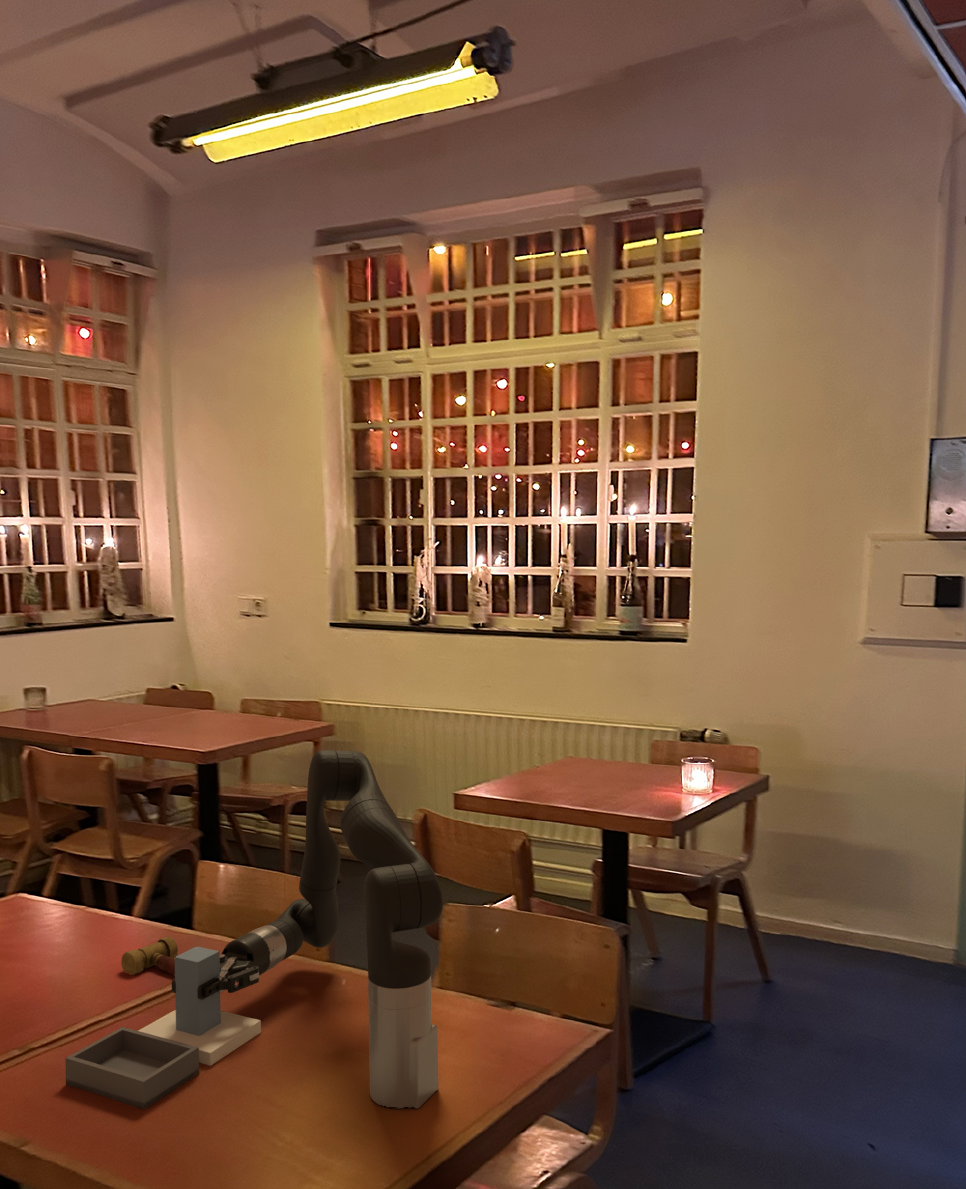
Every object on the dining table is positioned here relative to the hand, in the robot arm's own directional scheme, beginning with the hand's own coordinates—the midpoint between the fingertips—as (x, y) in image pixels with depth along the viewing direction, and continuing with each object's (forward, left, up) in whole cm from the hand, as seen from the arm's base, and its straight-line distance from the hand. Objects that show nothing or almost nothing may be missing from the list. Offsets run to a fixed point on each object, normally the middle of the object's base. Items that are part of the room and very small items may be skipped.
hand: (186, 990), depth 154 cm
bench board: (0, -3, -9) cm, 9 cm away
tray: (0, +11, -9) cm, 15 cm away
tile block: (0, -3, -7) cm, 7 cm away
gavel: (+22, -20, -10) cm, 32 cm away
